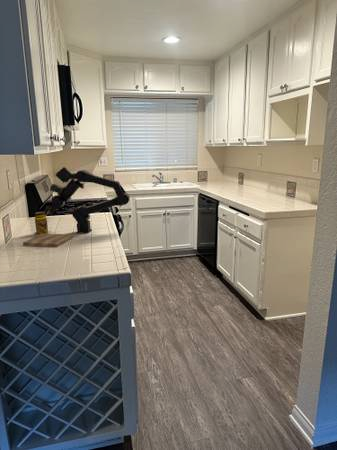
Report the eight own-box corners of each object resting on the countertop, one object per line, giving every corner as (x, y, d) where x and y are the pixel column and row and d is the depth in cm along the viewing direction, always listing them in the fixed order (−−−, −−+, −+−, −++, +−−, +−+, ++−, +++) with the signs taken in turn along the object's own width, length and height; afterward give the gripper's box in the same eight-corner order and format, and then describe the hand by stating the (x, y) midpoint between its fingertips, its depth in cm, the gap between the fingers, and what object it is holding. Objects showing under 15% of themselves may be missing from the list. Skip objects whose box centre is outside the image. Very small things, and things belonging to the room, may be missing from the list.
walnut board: (73, 237, 163) (73, 234, 162) (57, 246, 147) (56, 243, 147) (42, 236, 166) (42, 233, 166) (23, 245, 151) (23, 242, 151)
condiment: (47, 235, 169) (44, 213, 166) (31, 236, 168) (28, 214, 165) (50, 231, 176) (47, 210, 173) (34, 232, 175) (32, 211, 172)
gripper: (63, 177, 174) (45, 197, 176) (53, 180, 156) (34, 202, 158) (78, 190, 177) (61, 210, 179) (71, 195, 159) (51, 217, 161)
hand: (52, 209), depth 169 cm, fingers open, 9 cm apart
